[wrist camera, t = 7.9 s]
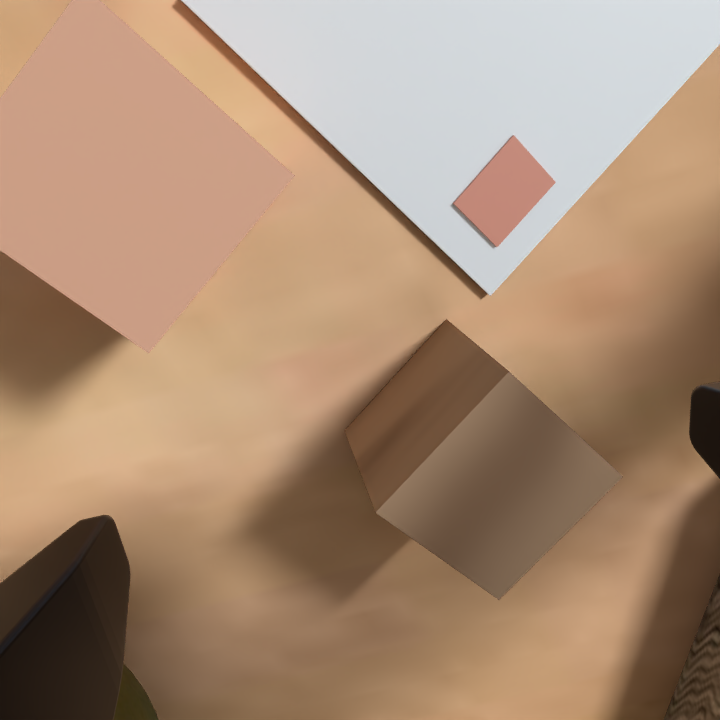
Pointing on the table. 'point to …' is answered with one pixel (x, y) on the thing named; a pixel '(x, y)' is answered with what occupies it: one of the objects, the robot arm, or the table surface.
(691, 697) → the hardback book
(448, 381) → the walnut block
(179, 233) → the block
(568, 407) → the table surface
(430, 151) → the envelope
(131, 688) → the fruit
